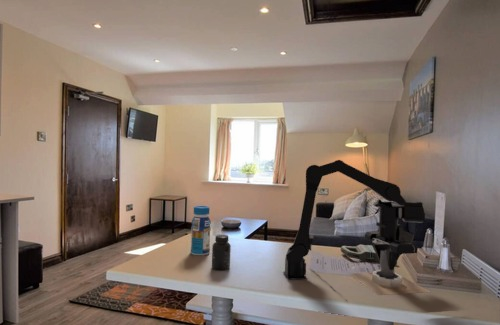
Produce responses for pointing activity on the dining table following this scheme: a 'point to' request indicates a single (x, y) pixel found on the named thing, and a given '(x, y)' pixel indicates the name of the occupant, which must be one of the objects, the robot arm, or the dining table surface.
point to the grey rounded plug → (385, 266)
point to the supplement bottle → (221, 253)
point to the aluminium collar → (387, 280)
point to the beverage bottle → (200, 231)
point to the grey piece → (361, 253)
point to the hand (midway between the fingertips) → (387, 267)
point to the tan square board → (382, 290)
